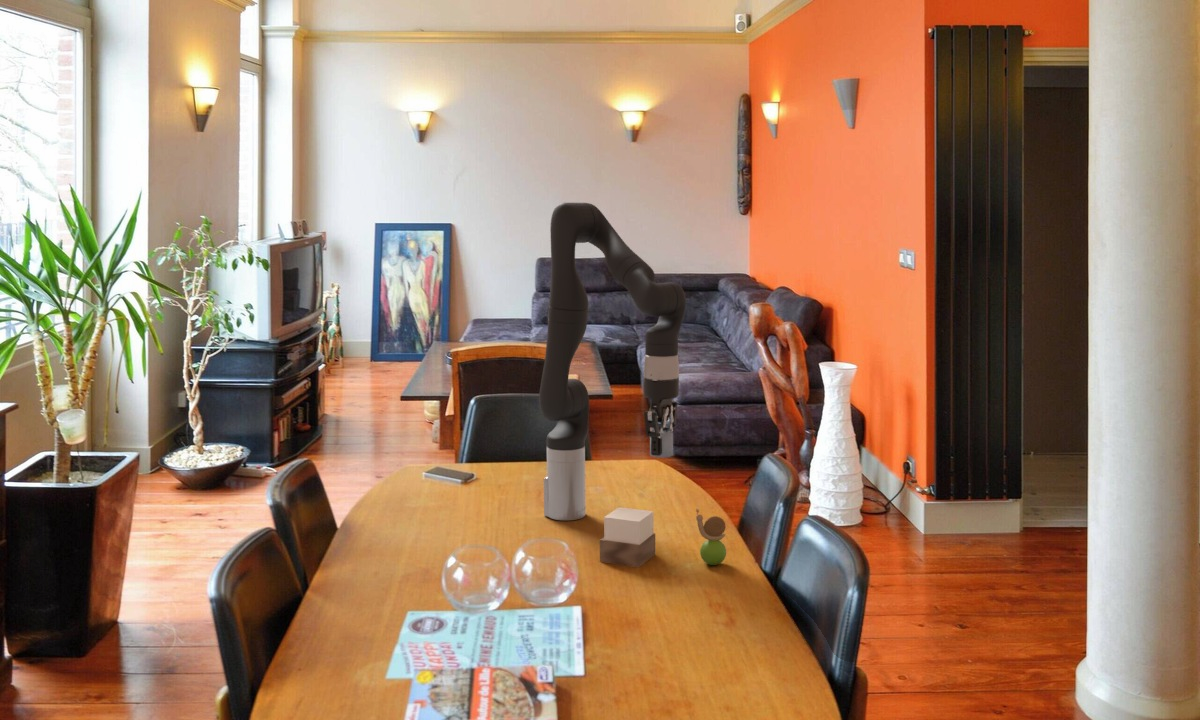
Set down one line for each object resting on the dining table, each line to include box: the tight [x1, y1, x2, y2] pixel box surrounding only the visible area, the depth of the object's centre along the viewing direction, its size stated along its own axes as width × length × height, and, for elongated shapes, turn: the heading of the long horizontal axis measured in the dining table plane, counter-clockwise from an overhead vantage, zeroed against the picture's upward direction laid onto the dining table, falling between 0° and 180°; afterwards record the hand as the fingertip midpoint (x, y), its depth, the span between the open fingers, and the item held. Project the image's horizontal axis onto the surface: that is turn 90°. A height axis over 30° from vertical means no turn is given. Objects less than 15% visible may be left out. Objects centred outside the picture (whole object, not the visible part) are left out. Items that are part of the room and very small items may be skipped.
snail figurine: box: [695, 508, 727, 566], centre depth 223 cm, size 5×6×12 cm
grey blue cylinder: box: [649, 430, 674, 459], centre depth 232 cm, size 5×5×5 cm
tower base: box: [599, 532, 656, 568], centre depth 228 cm, size 9×9×5 cm
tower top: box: [603, 506, 654, 545], centre depth 227 cm, size 8×8×5 cm
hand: (661, 451), depth 232 cm, fingers closed on grey blue cylinder, 5 cm apart
